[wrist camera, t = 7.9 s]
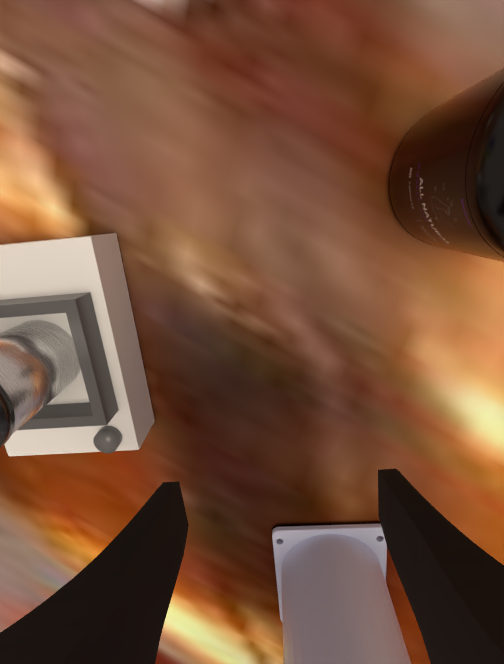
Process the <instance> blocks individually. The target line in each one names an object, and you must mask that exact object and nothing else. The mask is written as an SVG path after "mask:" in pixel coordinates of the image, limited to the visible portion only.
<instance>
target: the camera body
mask: <svg viewBox="0 0 504 664" xmlns="http://www.w3.org/2000/svg"><path fill="white" fill-rule="evenodd" d="M31 320H43V321H48V322H51V323H53V324H56V325H58V326H59V327H61V328H62V329H64V330H65V331H66V332H67V333H68V334H69V335H70V336H71V337H72V338H73V342H74V345H75V349H76V353H77V357H78V360H79V364H80V368H81V369H80V372H79V374H78V376H77V378H76V379H75V380H74V381H73V382H72V383H71V384H70V385H69V386H68V387H66V388H65V389H64V390H63V391H62V392H61V393H59V394H58V395H57V396H56V397H55V398H54V399H52V400H51V401H50V402H49V403H48V404H47V405H46V406H44V407H43V408H42V409H41V410H40V411H39V412H37V413H36V414H35V415H34V416H33V417H32V418H30V419H29V420H28V421H27V422H26V423H25V424H23V425H22V426H21V427H20V428H19V429H18V430H16V431H15V432H14V433H13V434H12V435H11V437H10V438H9V440H8V441H7V442H6V443H5V444H4V445H5V447H6V450H7V453H8V456H24V455H43V454H63V453H83V452H103V453H112V452H114V451H123V450H139V449H140V447H141V445H142V443H143V442H144V440H145V438H146V436H147V434H148V433H149V431H150V429H151V427H152V425H153V424H154V422H155V419H154V414H153V410H152V405H151V400H150V395H149V390H148V385H147V380H146V375H145V371H144V366H143V361H142V356H141V351H140V346H139V341H138V336H137V332H136V327H135V322H134V317H133V312H132V307H131V302H130V297H129V292H128V288H127V283H126V278H125V273H124V268H123V263H122V258H121V253H120V249H119V244H118V239H117V234H116V233H111V234H101V235H90V236H80V237H70V238H60V239H50V240H39V241H29V242H19V243H9V244H0V333H1V332H4V331H6V330H8V329H10V328H12V327H15V326H17V325H19V324H21V323H24V322H26V321H31Z"/></svg>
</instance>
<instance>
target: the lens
mask: <svg viewBox="0 0 504 664" xmlns="http://www.w3.org/2000/svg"><path fill="white" fill-rule="evenodd" d="M80 369H81V368H80V364H79V360H78V357H77V353H76V349H75V345H74V342H73V338H72V337H71V336H70V335H69V334H68V333H67V332H66V331H65V330H64V329H62V328H61V327H59V326H58V325H56V324H53V323H51V322H48V321H43V320H31V321H26V322H24V323H21V324H19V325H17V326H15V327H12V328H10V329H8V330H6V331H4V332H1V333H0V448H1V447H2V446H3V445H4V444H5V443H6V442H7V441H8V440H9V438H10V437H11V435H12V434H13V433H14V432H15V431H16V430H18V429H19V428H20V427H21V426H22V425H23V424H25V423H26V422H27V421H28V420H29V419H30V418H32V417H33V416H34V415H35V414H36V413H37V412H39V411H40V410H41V409H42V408H43V407H44V406H46V405H47V404H48V403H49V402H50V401H51V400H52V399H54V398H55V397H56V396H57V395H58V394H59V393H61V392H62V391H63V390H64V389H65V388H66V387H68V386H69V385H70V384H71V383H72V382H73V381H74V380H75V379H76V378H77V376H78V374H79V372H80Z"/></svg>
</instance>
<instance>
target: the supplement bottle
mask: <svg viewBox="0 0 504 664" xmlns="http://www.w3.org/2000/svg"><path fill="white" fill-rule="evenodd" d="M390 197H391V202H392V206H393V209H394V211H395V214H396V216H397V218H398V219H399V221H400V223H401V224H402V225H403V227H404V228H405V229H406V230H407V231H408V232H409V233H410V234H412V235H413V236H414V237H416V238H418V239H419V240H421V241H423V242H426V243H428V244H431V245H434V246H438V247H442V248H446V249H450V250H455V251H459V252H463V253H467V254H472V255H476V256H480V257H485V258H489V259H493V260H497V261H502V262H504V68H503V69H501V70H499V71H498V72H496V73H494V74H493V75H491V76H489V77H487V78H486V79H484V80H482V81H481V82H479V83H477V84H476V85H474V86H472V87H470V88H469V89H467V90H465V91H464V92H462V93H460V94H458V95H457V96H455V97H453V98H452V99H450V100H448V101H446V102H445V103H443V104H442V105H440V106H438V107H437V108H435V109H434V110H432V111H431V112H429V113H428V114H427V115H426V116H424V117H423V118H422V119H421V120H420V121H419V122H418V123H417V124H416V125H415V126H414V127H413V128H412V129H411V130H410V132H409V133H408V134H407V136H406V137H405V139H404V140H403V142H402V143H401V145H400V147H399V149H398V151H397V154H396V156H395V159H394V162H393V165H392V169H391V175H390Z"/></svg>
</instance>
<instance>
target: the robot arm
mask: <svg viewBox="0 0 504 664" xmlns="http://www.w3.org/2000/svg"><path fill="white" fill-rule="evenodd" d="M378 502H379V519H380V523H381V524H350V525H319V526H288V527H276V528H274V529H273V530H272V539H273V549H274V559H275V569H276V579H277V589H278V600H279V610H280V619H281V621H282V622H283V652H284V664H411V661H410V658H409V655H408V652H407V649H406V645H405V642H404V639H403V636H402V633H401V629H400V626H399V623H398V620H397V616H396V613H395V610H394V607H393V604H392V600H391V597H390V594H389V591H388V588H387V584H386V560H387V547H388V550H389V552H390V555H391V557H392V560H393V562H394V565H395V567H396V570H397V572H398V575H399V577H400V580H401V582H402V585H403V587H404V590H405V592H406V595H407V597H408V599H409V602H410V604H411V607H412V609H413V612H414V614H415V617H416V620H417V622H418V625H419V628H420V631H421V633H422V636H423V640H424V643H425V646H426V649H427V652H428V656H429V659H430V662H431V664H504V565H502V564H501V563H500V562H498V561H497V560H495V559H494V558H493V557H492V556H490V555H489V554H488V553H486V552H485V551H484V550H482V549H481V548H480V547H478V546H477V545H476V544H475V543H474V542H472V541H471V540H470V539H469V538H467V537H466V536H465V535H464V534H463V533H462V532H460V531H459V530H458V529H457V528H456V527H455V526H454V525H452V524H451V523H450V522H449V521H448V520H447V519H446V518H445V517H444V516H443V515H442V514H441V513H439V512H438V511H437V510H436V509H435V508H434V507H433V506H432V505H431V504H430V503H429V502H428V501H427V500H426V499H425V498H424V497H423V496H422V495H421V494H420V493H419V492H418V491H417V490H416V489H415V488H414V487H413V486H412V485H411V484H410V483H409V482H408V480H407V479H406V478H405V477H404V476H403V475H402V474H401V473H400V472H399V471H398V470H397V469H384V470H378ZM187 531H188V521H187V516H186V512H185V507H184V502H183V498H182V493H181V488H180V484H179V482H165V483H162V485H161V486H160V487H159V488H158V489H157V490H156V491H155V493H154V494H153V495H152V496H151V497H150V499H149V500H148V501H147V502H146V503H145V505H144V506H143V507H142V508H141V509H140V511H139V512H138V513H137V514H136V515H135V516H134V518H133V519H132V520H131V521H130V522H129V523H128V524H127V526H126V527H125V528H124V529H123V530H122V531H121V532H120V533H119V534H118V535H117V537H116V538H115V539H114V540H113V541H112V542H111V543H110V544H109V545H108V546H107V547H106V548H105V549H104V550H103V551H102V552H101V553H100V554H99V555H98V556H97V557H96V558H95V559H94V560H93V561H92V562H91V563H90V564H89V565H87V566H86V567H85V568H84V569H83V570H82V571H81V572H80V573H79V574H78V575H76V576H75V577H74V578H73V579H72V580H70V581H69V582H68V583H67V584H66V585H64V586H63V587H62V588H61V589H59V590H58V591H57V592H56V593H54V594H53V595H52V596H51V597H50V598H48V599H47V600H46V601H44V602H43V603H42V604H40V605H39V606H38V607H36V608H35V609H34V610H32V611H31V612H30V613H28V614H27V615H25V616H24V617H23V618H21V619H20V620H18V621H17V622H15V623H14V624H13V625H11V626H10V627H8V628H7V629H5V630H4V631H2V632H1V633H0V664H155V661H156V656H157V651H158V646H159V641H160V637H161V633H162V629H163V625H164V621H165V618H166V614H167V611H168V607H169V604H170V600H171V597H172V593H173V590H174V587H175V583H176V580H177V576H178V573H179V569H180V566H181V562H182V558H183V555H184V549H185V544H186V538H187ZM378 536H380V537H378ZM278 539H281V540H278Z"/></svg>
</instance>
